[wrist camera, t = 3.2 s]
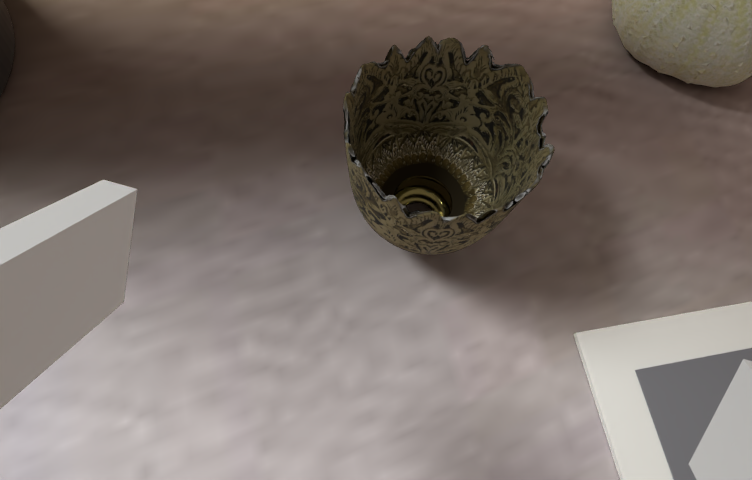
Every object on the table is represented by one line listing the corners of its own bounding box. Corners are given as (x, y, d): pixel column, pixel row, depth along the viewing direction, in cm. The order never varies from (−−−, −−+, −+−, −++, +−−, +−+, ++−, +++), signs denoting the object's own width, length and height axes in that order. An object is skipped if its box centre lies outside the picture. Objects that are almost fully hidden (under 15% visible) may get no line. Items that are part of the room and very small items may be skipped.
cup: (339, 144, 31) (346, 26, 24) (492, 153, 32) (544, 40, 24) (332, 292, 28) (338, 208, 21) (501, 299, 29) (564, 220, 21)
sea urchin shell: (722, -82, 37) (851, -100, 30) (714, 59, 40) (829, 74, 33) (578, -59, 35) (679, -72, 28) (581, 87, 39) (673, 109, 31)
